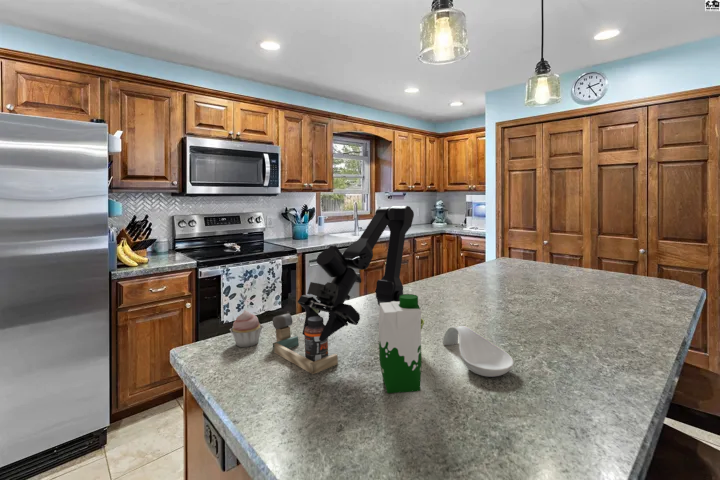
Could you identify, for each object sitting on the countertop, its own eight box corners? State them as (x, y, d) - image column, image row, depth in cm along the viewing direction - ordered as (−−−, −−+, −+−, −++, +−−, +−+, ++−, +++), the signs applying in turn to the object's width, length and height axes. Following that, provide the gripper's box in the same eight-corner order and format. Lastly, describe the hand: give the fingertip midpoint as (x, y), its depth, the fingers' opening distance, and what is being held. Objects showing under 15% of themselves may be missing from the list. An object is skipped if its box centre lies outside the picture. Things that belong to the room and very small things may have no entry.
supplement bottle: (324, 366, 92) (322, 322, 91) (302, 365, 93) (300, 321, 92) (331, 356, 98) (329, 315, 97) (309, 355, 99) (308, 314, 98)
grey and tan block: (295, 342, 108) (294, 313, 107) (280, 347, 105) (278, 317, 104) (289, 339, 111) (287, 310, 110) (273, 344, 108) (272, 314, 107)
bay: (337, 364, 93) (337, 354, 93) (312, 374, 88) (312, 364, 88) (296, 344, 107) (296, 335, 107) (273, 351, 102) (272, 343, 102)
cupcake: (253, 335, 115) (251, 304, 114) (269, 342, 109) (267, 309, 108) (225, 343, 109) (222, 311, 108) (239, 352, 102) (237, 317, 101)
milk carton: (425, 393, 78) (424, 301, 76) (383, 396, 77) (381, 303, 75) (415, 373, 87) (414, 291, 85) (377, 376, 86) (375, 292, 84)
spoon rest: (524, 379, 83) (525, 349, 83) (479, 387, 80) (479, 356, 80) (467, 341, 106) (467, 317, 105) (429, 347, 103) (429, 322, 102)
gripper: (301, 266, 102) (270, 315, 95) (351, 273, 90) (319, 330, 83) (323, 288, 109) (295, 335, 102) (372, 298, 97) (344, 352, 90)
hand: (311, 337), depth 94 cm, fingers closed on supplement bottle, 6 cm apart
